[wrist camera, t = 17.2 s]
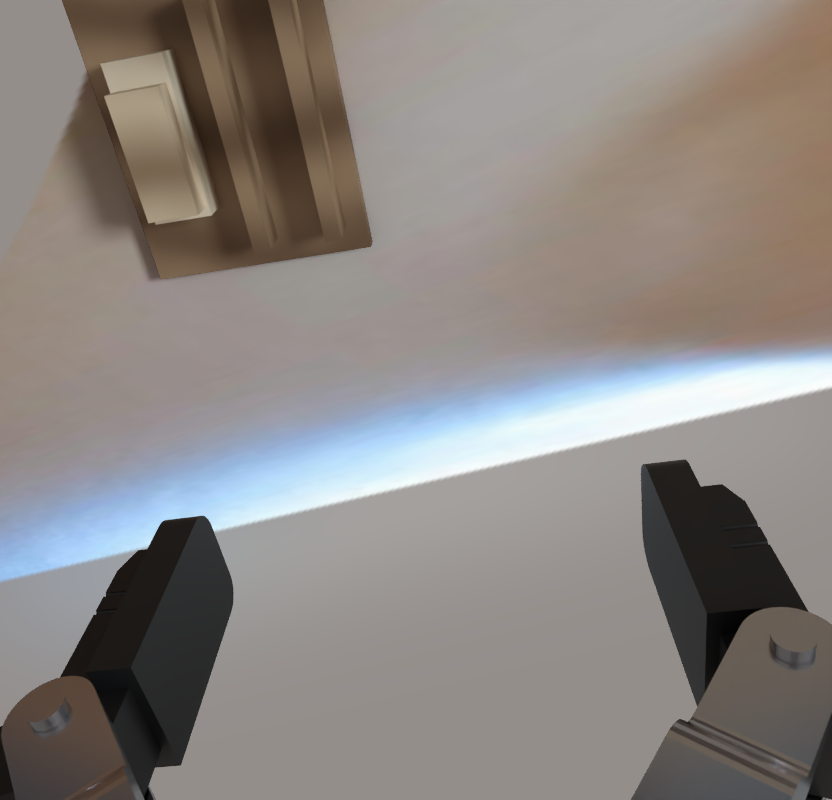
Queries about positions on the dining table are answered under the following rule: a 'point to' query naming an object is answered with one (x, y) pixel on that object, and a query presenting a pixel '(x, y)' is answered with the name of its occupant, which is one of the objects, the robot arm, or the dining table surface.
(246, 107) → the offcut rack
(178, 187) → the offcut stack
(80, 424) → the dining table surface
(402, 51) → the dining table surface
